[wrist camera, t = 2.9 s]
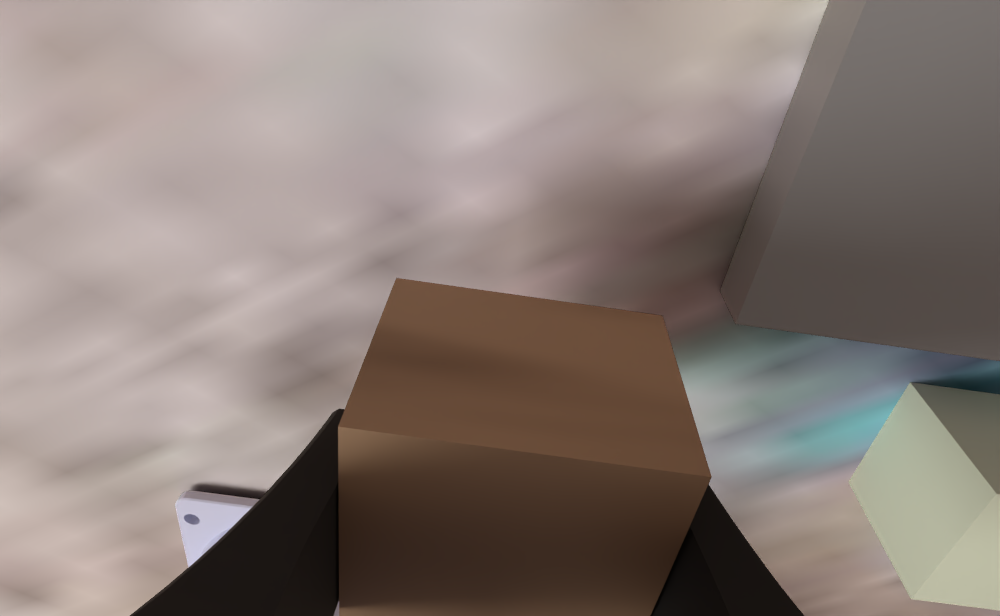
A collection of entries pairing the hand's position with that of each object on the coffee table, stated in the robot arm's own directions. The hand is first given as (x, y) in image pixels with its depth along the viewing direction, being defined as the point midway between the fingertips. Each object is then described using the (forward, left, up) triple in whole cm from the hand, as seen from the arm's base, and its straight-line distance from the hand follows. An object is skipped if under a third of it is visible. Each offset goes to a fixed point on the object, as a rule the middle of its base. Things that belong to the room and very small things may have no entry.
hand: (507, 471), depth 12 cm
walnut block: (0, 0, -2) cm, 2 cm away
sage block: (-3, -13, -6) cm, 15 cm away
